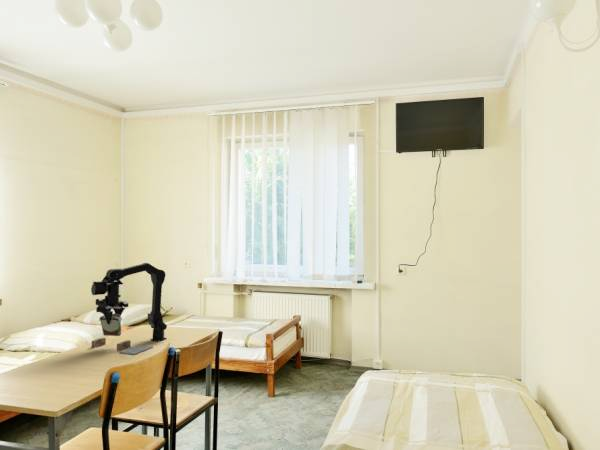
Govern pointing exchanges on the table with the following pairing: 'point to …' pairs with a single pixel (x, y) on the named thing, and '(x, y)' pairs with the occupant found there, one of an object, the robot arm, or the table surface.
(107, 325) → the food container
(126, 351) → the mat
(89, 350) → the table surface
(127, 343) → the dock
